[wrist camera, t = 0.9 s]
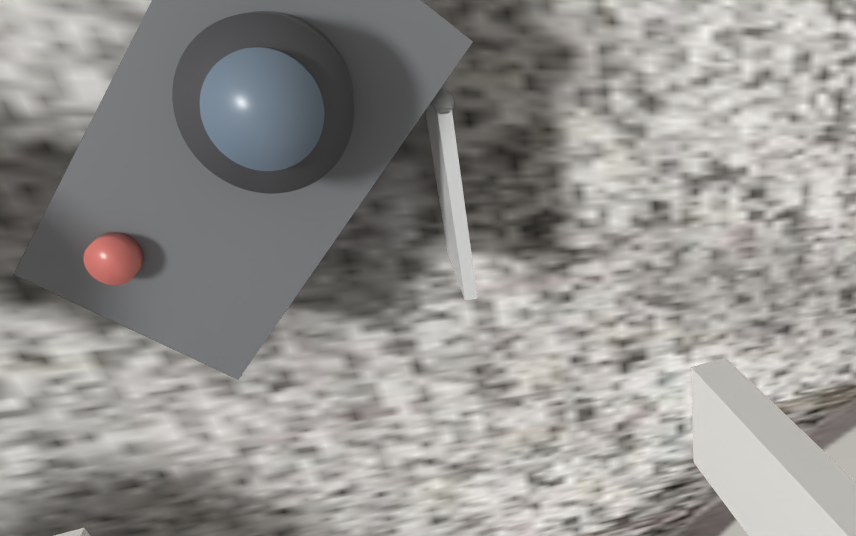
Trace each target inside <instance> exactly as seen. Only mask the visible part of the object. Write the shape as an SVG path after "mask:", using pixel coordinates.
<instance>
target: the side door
mask: <svg viewBox="0 0 856 536" xmlns="http://www.w3.org/2000/svg"><path fill="white" fill-rule="evenodd" d="M453 108H454V98H453V96H452V95H451V94H450V93H449V92H448V91H447V90H446V89H445V88H444V87H443V86H442V87H441V89H440V90H439V91H438V93H437V94H436V96H435V97H434V99H433V100H432V102H431V103H430V104H429V106H428V107H427V109H426V110H425V112H426V118H427V124H428V131H429V137H430V143H431V150H432V156H433V163H434V169H435V175H436V182H437V188H438V195H439V201H440V207H441V214H442V220H443V226H444V233H445V239H446V246H447V252H448V255H449V258H450V261H451V264H452V266H453V269H454V272H455V274H456V277H457V280H458V282H459V285H460V288H461V290H462V293H463V296H464V299H465V300H471V299H476V298H478V297H477V290H476V283H475V275H474V268H473V261H472V253H471V246H470V239H469V231H468V224H467V217H466V210H465V202H464V195H463V188H462V180H461V173H460V166H459V158H458V151H457V144H456V137H455V129H454V122H453V115H452V109H453Z"/></svg>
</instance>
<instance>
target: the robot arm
mask: <svg viewBox="0 0 856 536" xmlns="http://www.w3.org/2000/svg"><path fill="white" fill-rule="evenodd" d="M691 381H692V417H693V453H694V463H695V465H696V466H697V467H698V469H699V470H700V471H701V473H702V474H703V475H704V477H705V478H706V479H707V481H708V482H709V483H710V485H711V486H712V487H713V489H714V490H715V491H716V493H717V494H718V495H719V497H720V498H721V499H722V501H723V502H724V503H725V505H726V506H727V507H728V509H729V510H730V511H731V513H732V514H733V515H734V517H735V518H736V519H737V521H738V522H739V524H740V525H741V526H742V528H743V529H744V530H745V531H746V533H747V534H748V535H749V536H856V482H855V481H854V480H853V479H852V478H851V477H850V476H849V475H848V474H847V473H846V472H845V471H844V470H843V469H842V468H841V467H840V466H839V465H838V464H836V463H835V462H834V461H833V460H832V459H831V458H830V457H829V456H828V455H827V454H826V453H825V452H824V451H823V450H822V449H821V448H820V447H819V446H818V445H817V444H816V443H815V442H814V441H812V440H811V439H810V438H809V437H808V436H807V435H806V434H805V433H804V432H803V431H802V430H801V429H800V428H799V427H798V426H797V425H796V424H795V423H794V422H792V421H791V420H790V419H789V418H788V417H787V416H786V415H785V414H784V413H783V412H782V411H781V410H780V409H779V408H778V407H777V406H776V405H775V404H774V403H773V402H771V401H770V400H769V399H768V398H767V397H766V396H765V395H764V394H763V393H762V392H761V391H760V390H759V389H758V388H757V387H756V386H755V385H754V384H753V383H751V382H750V381H749V380H748V379H747V378H746V377H745V376H744V375H743V374H742V373H741V372H740V371H739V370H738V369H737V368H736V367H735V366H734V365H733V364H732V363H730V362H729V361H728V360H727V359H726V358H724V359H720V360H717V361H713V362H709V363H705V364H701V365H698V366H694V367H691ZM54 536H90V535H89V533H88V532H87V531H86V529H85V528H81V529H77V530H73V531H69V532H66V533H62V534H58V535H54Z"/></svg>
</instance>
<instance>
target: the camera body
mask: <svg viewBox="0 0 856 536" xmlns="http://www.w3.org/2000/svg"><path fill="white" fill-rule="evenodd" d="M472 43H473V41H471V40H470V39H469V38H468V37H466V36H465V35H464V34H463V33H461V32H460V31H459V30H458V29H456V28H455V27H454V26H453V25H451V24H450V23H449V22H448V21H446V20H445V19H444V18H443V17H441V16H440V15H439V14H438V13H436V12H435V11H434V10H433V9H431V8H430V7H429V6H428V5H426V4H425V3H424V2H423V1H421V0H152V2H151V4H150V6H149V8H148V10H147V12H146V14H145V16H144V18H143V20H142V22H141V24H140V26H139V28H138V30H137V32H136V33H135V35H134V37H133V39H132V41H131V43H130V45H129V47H128V49H127V51H126V53H125V55H124V57H123V59H122V61H121V63H120V65H119V67H118V69H117V71H116V73H115V75H114V77H113V79H112V81H111V83H110V85H109V87H108V89H107V91H106V93H105V95H104V97H103V99H102V101H101V103H100V105H99V107H98V109H97V111H96V113H95V115H94V116H93V118H92V120H91V122H90V124H89V126H88V128H87V130H86V132H85V134H84V136H83V138H82V140H81V142H80V144H79V146H78V148H77V150H76V152H75V154H74V156H73V158H72V160H71V162H70V164H69V166H68V168H67V170H66V172H65V174H64V176H63V178H62V180H61V182H60V184H59V186H58V188H57V190H56V192H55V194H54V196H53V197H52V199H51V201H50V203H49V205H48V207H47V209H46V211H45V213H44V215H43V217H42V219H41V221H40V223H39V225H38V227H37V229H36V231H35V233H34V235H33V237H32V239H31V241H30V243H29V245H28V247H27V249H26V251H25V253H24V255H23V257H22V259H21V261H20V263H19V265H18V267H17V269H16V271H15V273H14V275H16V276H18V277H20V278H22V279H24V280H26V281H28V282H31V283H33V284H35V285H37V286H39V287H41V288H43V289H46V290H48V291H50V292H52V293H54V294H56V295H58V296H61V297H63V298H65V299H67V300H69V301H71V302H73V303H75V304H78V305H80V306H82V307H84V308H86V309H88V310H90V311H93V312H95V313H97V314H99V315H101V316H103V317H105V318H108V319H110V320H112V321H114V322H116V323H118V324H120V325H122V326H125V327H127V328H129V329H131V330H133V331H135V332H137V333H140V334H142V335H144V336H146V337H148V338H150V339H152V340H154V341H157V342H159V343H161V344H163V345H165V346H167V347H169V348H172V349H174V350H176V351H178V352H180V353H182V354H184V355H187V356H189V357H191V358H193V359H195V360H197V361H199V362H201V363H204V364H206V365H208V366H210V367H212V368H214V369H216V370H219V371H221V372H223V373H225V374H227V375H229V376H231V377H234V378H236V379H239V378H240V376H241V375H242V373H243V372H244V371H245V369H246V368H247V366H248V365H249V363H250V362H251V361H252V359H253V358H254V356H255V355H256V353H257V352H258V350H259V349H260V348H261V346H262V345H263V343H264V342H265V340H266V339H267V337H268V336H269V335H270V333H271V332H272V330H273V329H274V327H275V326H276V325H277V323H278V322H279V320H280V319H281V317H282V316H283V314H284V313H285V312H286V310H287V309H288V307H289V306H290V304H291V303H292V302H293V300H294V299H295V297H296V296H297V294H298V293H299V291H300V290H301V289H302V287H303V286H304V284H305V283H306V281H307V280H308V279H309V277H310V276H311V274H312V273H313V271H314V270H315V268H316V267H317V266H318V264H319V263H320V261H321V260H322V258H323V257H324V255H325V254H326V253H327V251H328V250H329V248H330V247H331V245H332V244H333V243H334V241H335V240H336V238H337V237H338V235H339V234H340V232H341V231H342V230H343V228H344V227H345V225H346V224H347V222H348V221H349V220H350V218H351V217H352V215H353V214H354V212H355V211H356V209H357V208H358V207H359V205H360V204H361V202H362V201H363V199H364V198H365V196H366V195H367V194H368V192H369V191H370V189H371V188H372V186H373V185H374V184H375V182H376V181H377V179H378V178H379V176H380V175H381V173H382V172H383V171H384V169H385V168H386V166H387V165H388V163H389V162H390V161H391V159H392V158H393V156H394V155H395V153H396V152H397V150H398V149H399V148H400V146H401V145H402V143H403V142H404V140H405V139H406V137H407V136H408V135H409V133H410V132H411V130H412V129H413V127H414V126H415V125H416V123H417V122H418V120H419V119H420V117H421V116H422V114H423V113H424V112H425V110H426V109H427V107H428V106H429V104H430V103H431V102H432V100H433V99H434V97H435V96H436V94H437V93H438V91H439V90H440V89H441V87H442V86H443V84H444V83H445V81H446V80H447V79H448V77H449V76H450V74H451V73H452V71H453V70H454V68H455V67H456V66H457V64H458V63H459V61H460V60H461V58H462V57H463V55H464V54H465V53H466V51H467V50H468V48H469V47H470V45H471V44H472Z"/></svg>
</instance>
